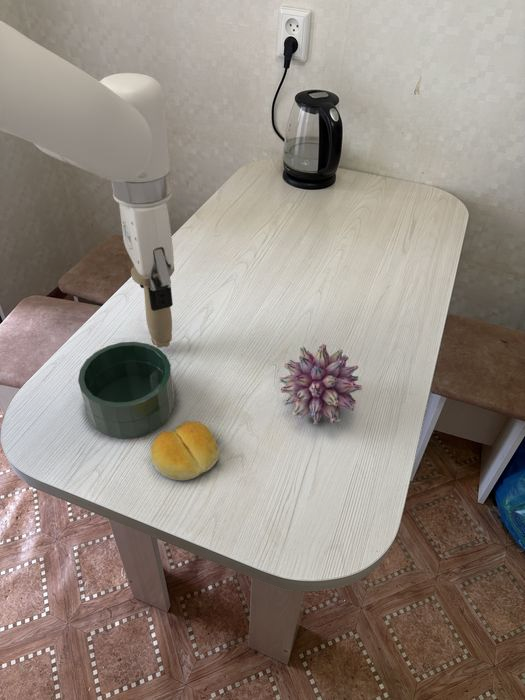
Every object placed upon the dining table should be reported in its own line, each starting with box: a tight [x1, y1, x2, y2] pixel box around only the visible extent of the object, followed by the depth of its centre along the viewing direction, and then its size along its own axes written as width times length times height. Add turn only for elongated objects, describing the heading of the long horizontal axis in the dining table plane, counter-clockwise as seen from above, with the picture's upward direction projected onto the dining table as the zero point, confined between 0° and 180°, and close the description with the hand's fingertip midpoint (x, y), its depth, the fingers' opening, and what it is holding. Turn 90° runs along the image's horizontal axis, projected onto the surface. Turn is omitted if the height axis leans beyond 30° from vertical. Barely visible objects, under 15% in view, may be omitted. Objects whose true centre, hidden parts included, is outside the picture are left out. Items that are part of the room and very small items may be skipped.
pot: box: [77, 341, 175, 439], centre depth 73 cm, size 13×13×7 cm
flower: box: [278, 343, 363, 427], centre depth 73 cm, size 12×12×12 cm
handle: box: [130, 264, 175, 349], centre depth 79 cm, size 5×6×15 cm
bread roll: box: [150, 420, 220, 481], centre depth 68 cm, size 8×9×4 cm
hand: (155, 295), depth 77 cm, fingers closed on handle, 5 cm apart
